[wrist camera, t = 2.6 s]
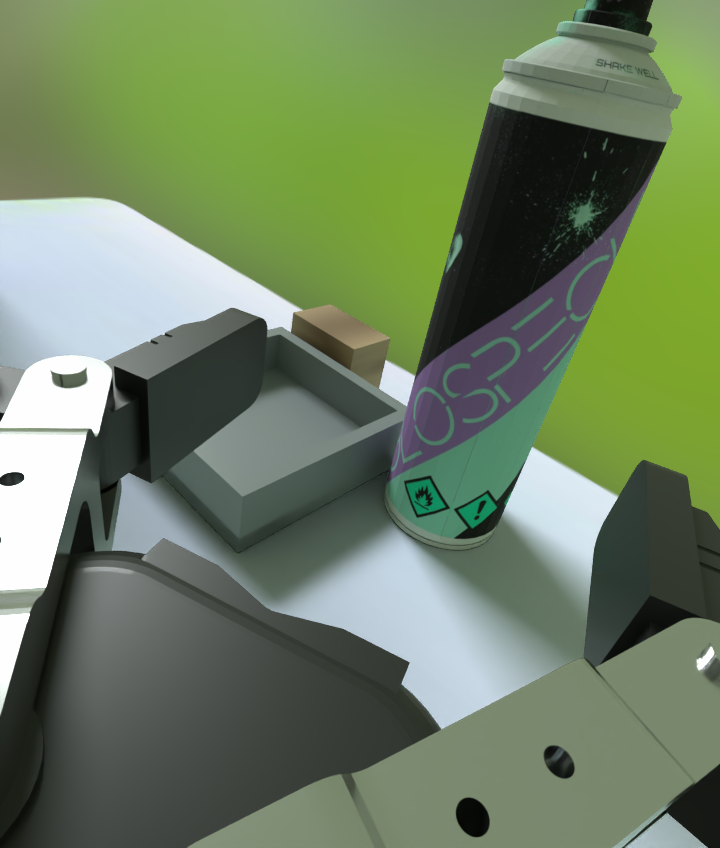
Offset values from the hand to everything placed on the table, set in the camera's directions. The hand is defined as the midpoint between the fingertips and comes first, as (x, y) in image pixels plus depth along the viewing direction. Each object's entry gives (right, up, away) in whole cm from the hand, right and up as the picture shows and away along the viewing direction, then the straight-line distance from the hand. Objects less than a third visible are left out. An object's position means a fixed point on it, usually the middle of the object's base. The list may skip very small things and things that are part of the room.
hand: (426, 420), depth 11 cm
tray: (-6, -1, +16) cm, 18 cm away
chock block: (-3, +2, +23) cm, 23 cm away
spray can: (+2, -4, +15) cm, 16 cm away
